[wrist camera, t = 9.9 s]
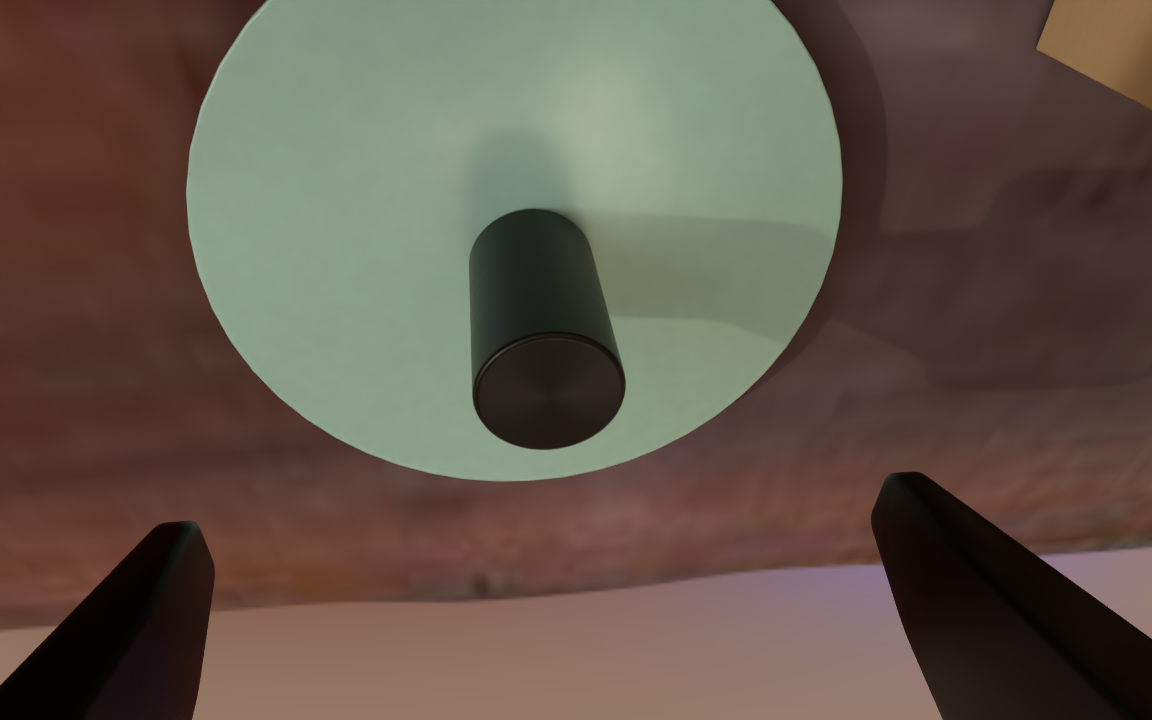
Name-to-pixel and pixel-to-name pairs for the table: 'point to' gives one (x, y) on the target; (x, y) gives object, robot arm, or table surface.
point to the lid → (513, 220)
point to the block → (1104, 43)
